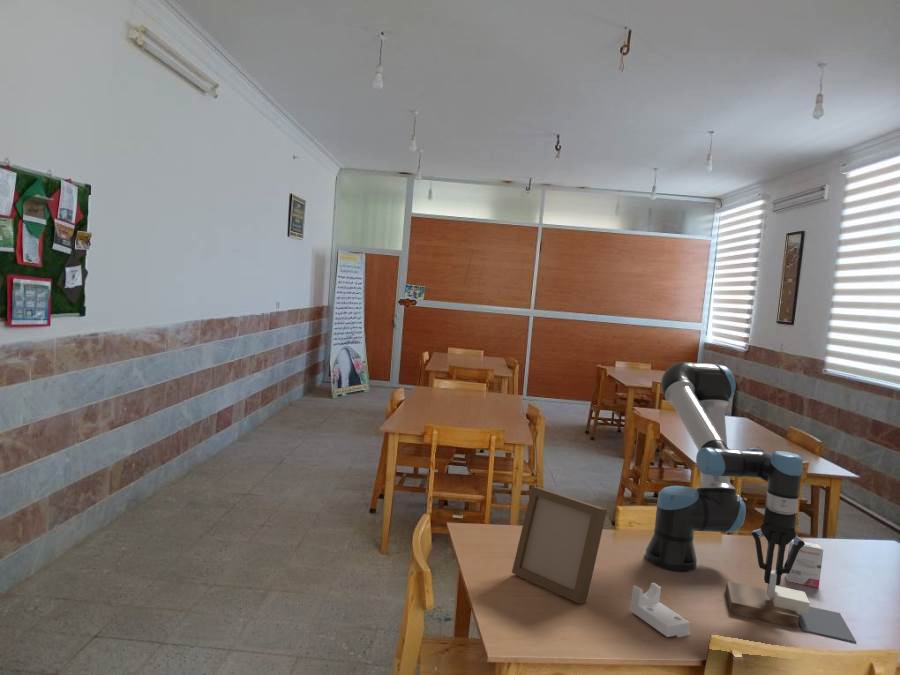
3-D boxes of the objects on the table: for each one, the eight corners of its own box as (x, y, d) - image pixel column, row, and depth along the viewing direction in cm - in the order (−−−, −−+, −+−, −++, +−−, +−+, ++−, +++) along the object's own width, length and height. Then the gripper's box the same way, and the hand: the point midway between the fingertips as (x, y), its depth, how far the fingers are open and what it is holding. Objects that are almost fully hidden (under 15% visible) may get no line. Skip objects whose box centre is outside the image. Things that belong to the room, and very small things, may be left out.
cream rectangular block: (774, 606, 168) (775, 595, 168) (770, 595, 175) (772, 584, 175) (808, 614, 166) (809, 603, 165) (803, 602, 172) (804, 591, 172)
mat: (802, 631, 162) (802, 629, 162) (790, 603, 178) (791, 602, 178) (856, 643, 159) (856, 641, 159) (839, 614, 174) (839, 613, 174)
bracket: (629, 614, 164) (633, 585, 163) (650, 610, 167) (653, 582, 166) (666, 640, 152) (670, 610, 152) (688, 636, 155) (692, 606, 155)
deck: (730, 613, 169) (731, 602, 169) (725, 591, 182) (726, 581, 182) (797, 628, 164) (798, 617, 163) (787, 604, 177) (788, 594, 177)
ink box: (815, 581, 195) (820, 544, 194) (819, 588, 190) (824, 549, 189) (784, 575, 197) (788, 538, 197) (786, 581, 193) (791, 543, 192)
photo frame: (577, 606, 165) (588, 512, 163) (511, 576, 179) (520, 489, 178) (606, 591, 176) (616, 502, 174) (541, 563, 190) (550, 481, 189)
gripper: (755, 509, 169) (745, 595, 170) (811, 519, 164) (799, 607, 166) (752, 501, 176) (742, 584, 177) (805, 510, 171) (794, 595, 173)
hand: (770, 595), depth 172 cm, fingers closed
